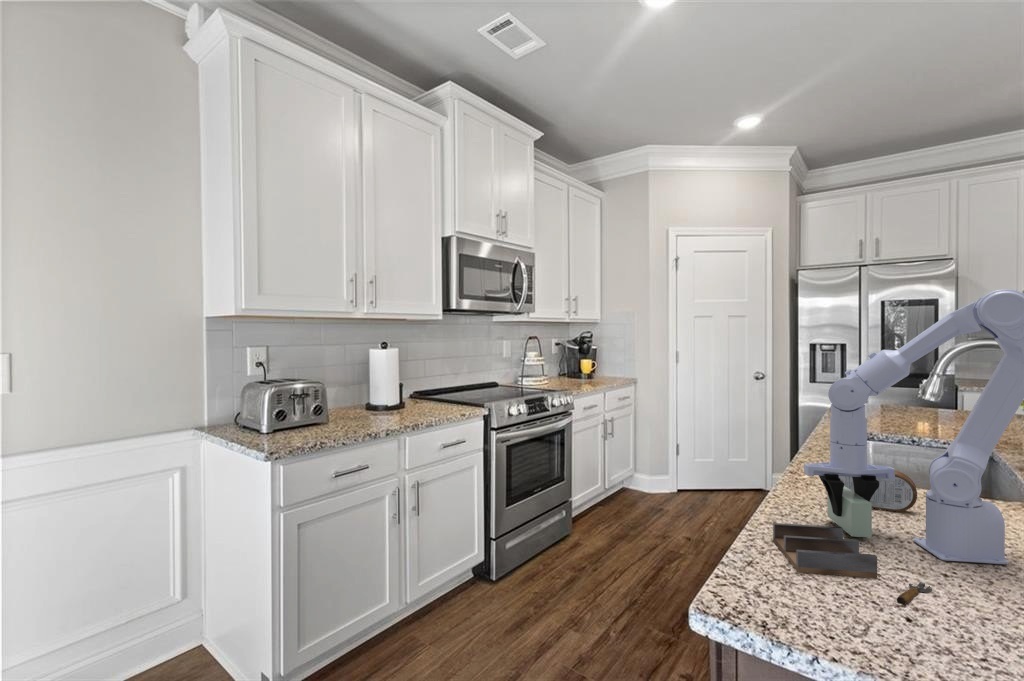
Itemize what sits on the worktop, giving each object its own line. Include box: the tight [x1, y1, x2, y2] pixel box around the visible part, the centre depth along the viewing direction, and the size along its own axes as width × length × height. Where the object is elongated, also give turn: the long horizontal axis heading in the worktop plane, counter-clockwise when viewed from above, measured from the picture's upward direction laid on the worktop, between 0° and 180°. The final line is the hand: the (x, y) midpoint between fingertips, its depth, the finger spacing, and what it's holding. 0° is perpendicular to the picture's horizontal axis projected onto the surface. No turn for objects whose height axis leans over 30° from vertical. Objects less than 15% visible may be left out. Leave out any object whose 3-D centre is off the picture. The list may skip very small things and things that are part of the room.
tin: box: [839, 469, 918, 513], centre depth 107 cm, size 15×3×8 cm, turn 58°
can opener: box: [896, 581, 933, 606], centre depth 72 cm, size 9×2×1 cm, turn 118°
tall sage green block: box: [826, 487, 873, 538], centre depth 94 cm, size 3×10×6 cm, turn 169°
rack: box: [772, 522, 878, 579], centre depth 83 cm, size 11×12×3 cm
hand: (848, 515), depth 94 cm, fingers closed on tall sage green block, 3 cm apart
